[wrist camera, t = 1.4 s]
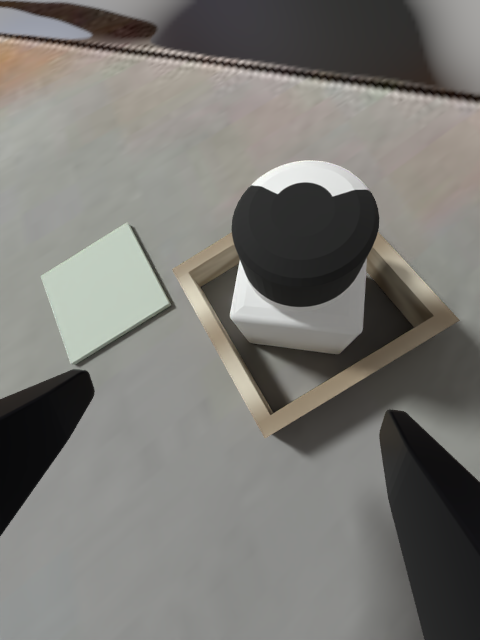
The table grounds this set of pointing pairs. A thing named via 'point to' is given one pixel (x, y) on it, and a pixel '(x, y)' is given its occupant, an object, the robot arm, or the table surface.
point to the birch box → (419, 311)
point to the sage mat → (103, 293)
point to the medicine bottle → (303, 257)
